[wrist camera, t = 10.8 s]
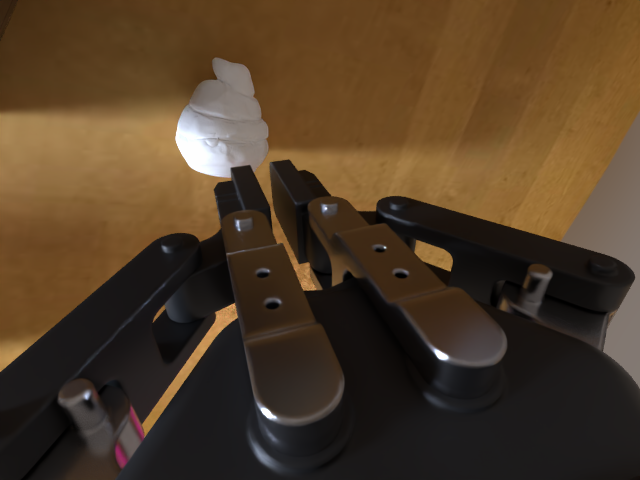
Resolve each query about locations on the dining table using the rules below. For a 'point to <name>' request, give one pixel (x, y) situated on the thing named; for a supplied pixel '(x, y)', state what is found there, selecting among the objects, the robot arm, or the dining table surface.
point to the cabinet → (5, 13)
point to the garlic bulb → (223, 123)
